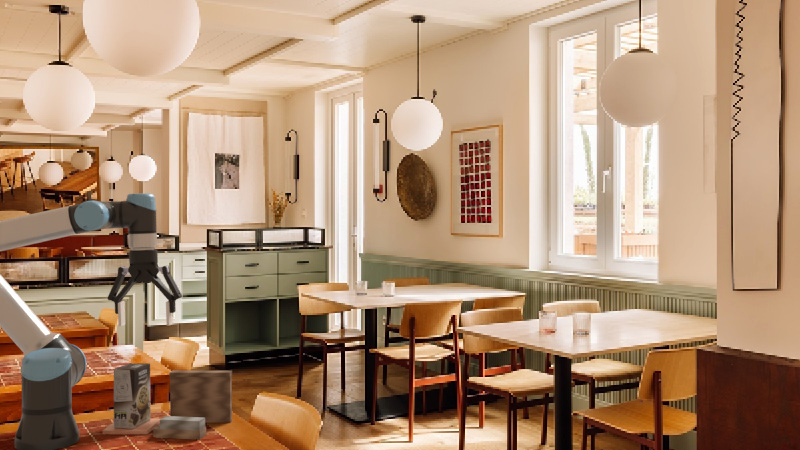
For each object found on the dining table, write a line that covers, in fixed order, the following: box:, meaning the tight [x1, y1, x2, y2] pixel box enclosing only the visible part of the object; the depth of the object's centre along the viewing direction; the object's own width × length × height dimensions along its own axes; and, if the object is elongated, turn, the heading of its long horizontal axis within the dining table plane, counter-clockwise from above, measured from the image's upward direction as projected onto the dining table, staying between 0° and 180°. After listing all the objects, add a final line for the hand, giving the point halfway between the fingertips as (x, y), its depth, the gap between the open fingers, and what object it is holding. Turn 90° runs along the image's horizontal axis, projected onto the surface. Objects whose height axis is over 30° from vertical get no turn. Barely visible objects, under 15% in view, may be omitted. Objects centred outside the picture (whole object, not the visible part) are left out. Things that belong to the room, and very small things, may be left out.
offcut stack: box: [152, 415, 207, 441], centre depth 204 cm, size 13×4×5 cm, turn 81°
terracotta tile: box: [102, 417, 161, 435], centre depth 212 cm, size 12×12×1 cm
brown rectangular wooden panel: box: [168, 369, 233, 423], centre depth 218 cm, size 17×3×14 cm, turn 89°
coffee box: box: [113, 362, 151, 429], centre depth 212 cm, size 9×6×16 cm
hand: (145, 325), depth 215 cm, fingers open, 13 cm apart
